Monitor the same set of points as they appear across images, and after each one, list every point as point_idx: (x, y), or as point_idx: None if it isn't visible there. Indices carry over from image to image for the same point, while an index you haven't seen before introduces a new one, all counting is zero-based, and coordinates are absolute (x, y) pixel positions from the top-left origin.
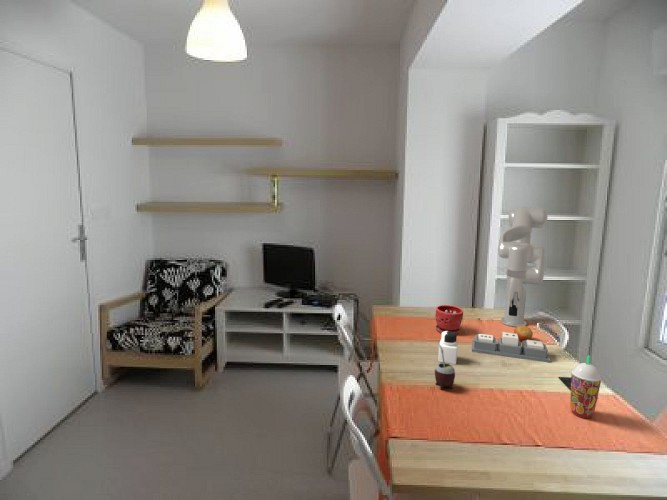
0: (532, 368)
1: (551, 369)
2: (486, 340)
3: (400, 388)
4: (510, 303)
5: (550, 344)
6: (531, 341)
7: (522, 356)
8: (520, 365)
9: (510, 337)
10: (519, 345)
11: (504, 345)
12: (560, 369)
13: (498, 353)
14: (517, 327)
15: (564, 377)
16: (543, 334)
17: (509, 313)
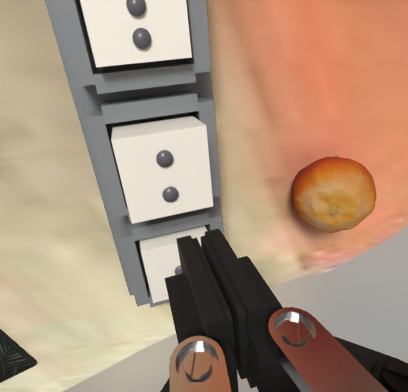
0: (21, 252)
1: (64, 301)
2: (84, 16)
3: None
4: (281, 355)
5: (301, 263)
6: None
7: (106, 210)
8: (17, 209)
9: (125, 182)
10: None
11: (91, 141)
12: (86, 320)
13: (75, 104)
14: (354, 180)
15: (5, 345)
16: (384, 234)
17: (180, 253)
